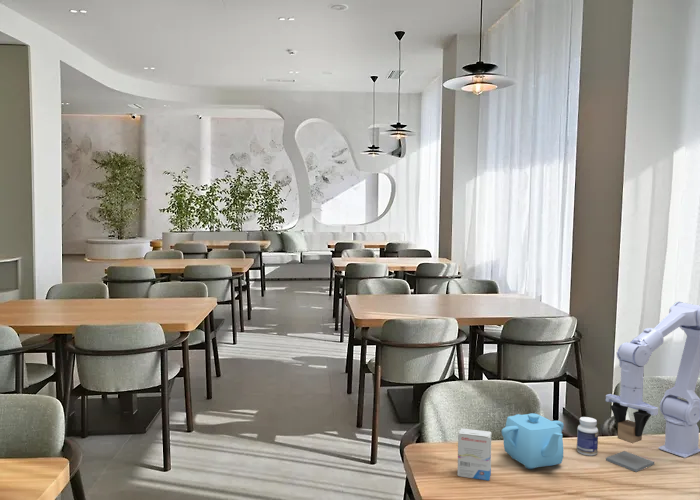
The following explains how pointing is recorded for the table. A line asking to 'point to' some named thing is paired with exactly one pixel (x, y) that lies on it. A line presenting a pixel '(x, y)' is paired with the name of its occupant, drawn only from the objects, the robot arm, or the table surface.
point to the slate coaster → (630, 461)
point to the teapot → (533, 440)
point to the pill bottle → (587, 436)
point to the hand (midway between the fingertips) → (630, 432)
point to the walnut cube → (627, 431)
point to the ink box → (474, 454)
